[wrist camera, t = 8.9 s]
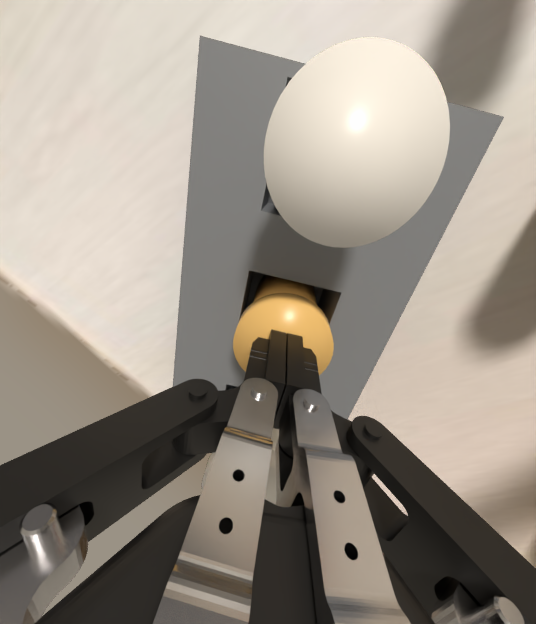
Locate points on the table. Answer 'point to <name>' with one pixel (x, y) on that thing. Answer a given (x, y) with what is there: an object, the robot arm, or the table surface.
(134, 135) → the table surface
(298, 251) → the grey rectangular block
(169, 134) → the table surface
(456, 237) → the table surface
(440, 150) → the white plunger
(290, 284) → the amber plunger
